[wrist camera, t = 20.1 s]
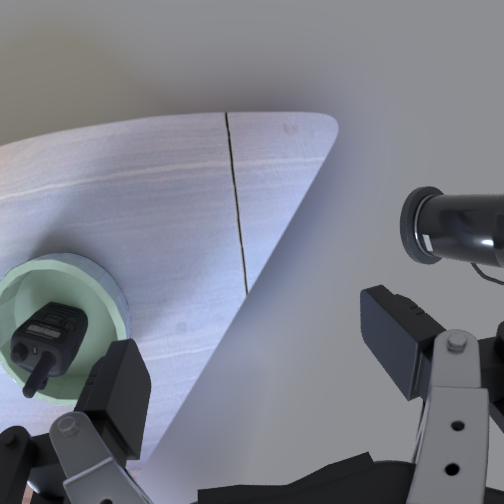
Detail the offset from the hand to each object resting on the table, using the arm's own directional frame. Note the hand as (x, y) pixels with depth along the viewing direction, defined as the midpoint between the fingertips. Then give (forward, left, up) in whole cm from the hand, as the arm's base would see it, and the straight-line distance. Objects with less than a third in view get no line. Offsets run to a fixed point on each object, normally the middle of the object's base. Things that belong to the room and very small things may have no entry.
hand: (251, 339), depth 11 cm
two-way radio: (+10, +9, -21) cm, 25 cm away
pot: (+10, +9, -21) cm, 25 cm away
